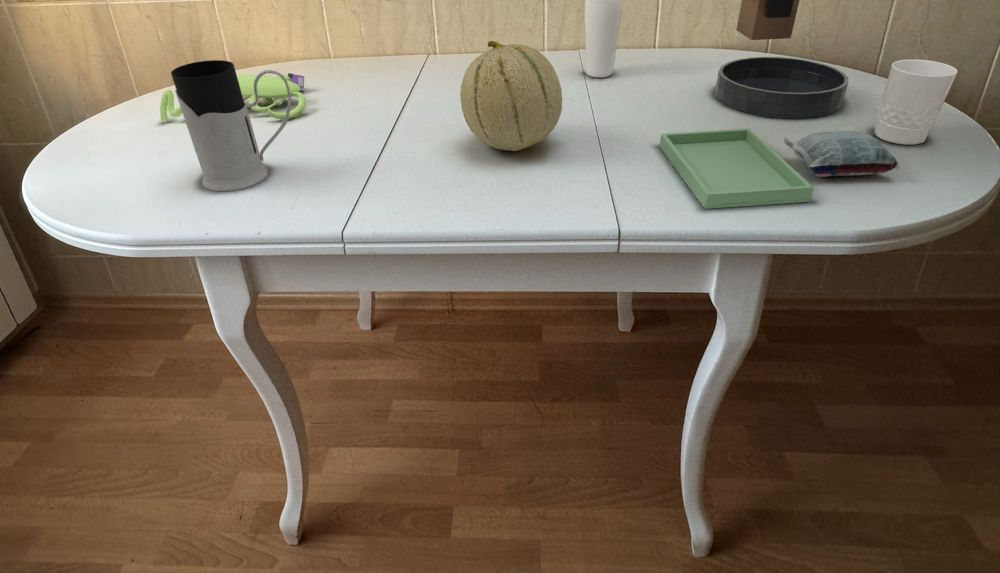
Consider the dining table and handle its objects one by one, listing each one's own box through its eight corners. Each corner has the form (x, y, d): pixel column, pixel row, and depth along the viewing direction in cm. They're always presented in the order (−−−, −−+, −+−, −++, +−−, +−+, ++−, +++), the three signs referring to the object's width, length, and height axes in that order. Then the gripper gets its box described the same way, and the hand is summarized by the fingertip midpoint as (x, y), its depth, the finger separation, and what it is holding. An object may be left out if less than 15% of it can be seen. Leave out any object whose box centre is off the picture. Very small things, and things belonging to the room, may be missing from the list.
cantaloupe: (555, 169, 86) (558, 58, 77) (453, 164, 88) (444, 56, 80) (566, 129, 98) (569, 29, 89) (475, 126, 100) (469, 28, 91)
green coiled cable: (195, 88, 121) (185, 59, 117) (329, 86, 119) (323, 56, 116) (145, 123, 106) (133, 91, 102) (298, 122, 104) (290, 88, 101)
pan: (805, 76, 115) (811, 54, 113) (866, 114, 99) (874, 89, 97) (698, 82, 114) (702, 60, 112) (742, 122, 98) (747, 97, 96)
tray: (659, 146, 91) (661, 133, 90) (746, 141, 92) (749, 128, 91) (704, 209, 76) (707, 194, 75) (809, 202, 76) (814, 187, 75)
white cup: (904, 150, 88) (930, 79, 82) (857, 132, 93) (879, 64, 88) (942, 140, 90) (971, 70, 84) (894, 122, 96) (918, 56, 90)
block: (773, 28, 81) (788, -40, 76) (790, 38, 77) (807, -34, 72) (736, 30, 81) (748, -39, 76) (751, 40, 77) (765, -32, 72)
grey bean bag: (779, 156, 87) (788, 122, 84) (864, 154, 87) (876, 120, 84) (804, 185, 80) (815, 149, 77) (897, 182, 80) (911, 147, 77)
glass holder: (202, 170, 89) (167, 64, 81) (303, 153, 93) (279, 50, 85) (202, 196, 83) (163, 83, 74) (310, 176, 87) (285, 67, 78)
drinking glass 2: (574, 74, 120) (577, -10, 111) (597, 66, 124) (601, -16, 115) (601, 82, 116) (607, -5, 107) (624, 73, 120) (631, -11, 111)
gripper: (748, -223, 71) (713, -2, 84) (826, -240, 56) (768, 30, 70) (812, -225, 71) (766, -5, 85) (907, -242, 57) (833, 27, 70)
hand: (767, 11), depth 77 cm, fingers closed on block, 5 cm apart
